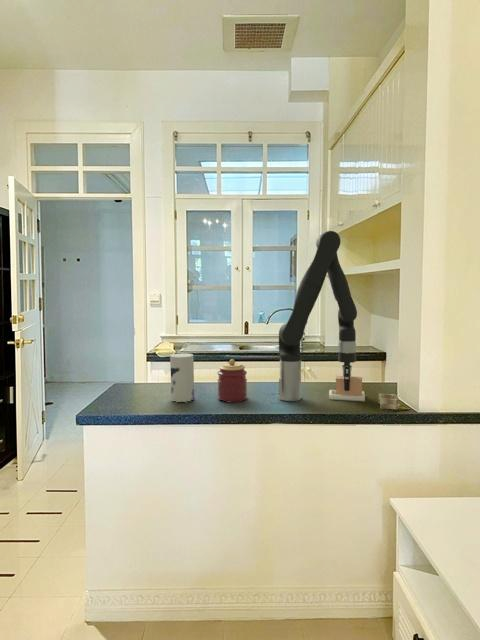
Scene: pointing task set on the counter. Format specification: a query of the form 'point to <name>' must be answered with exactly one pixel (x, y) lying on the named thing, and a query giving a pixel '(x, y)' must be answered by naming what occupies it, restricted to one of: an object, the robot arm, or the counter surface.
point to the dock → (388, 401)
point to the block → (354, 386)
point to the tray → (346, 396)
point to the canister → (232, 382)
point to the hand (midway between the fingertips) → (346, 388)
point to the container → (182, 377)
